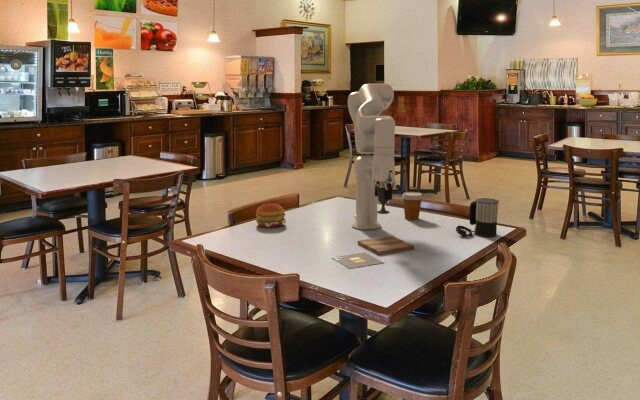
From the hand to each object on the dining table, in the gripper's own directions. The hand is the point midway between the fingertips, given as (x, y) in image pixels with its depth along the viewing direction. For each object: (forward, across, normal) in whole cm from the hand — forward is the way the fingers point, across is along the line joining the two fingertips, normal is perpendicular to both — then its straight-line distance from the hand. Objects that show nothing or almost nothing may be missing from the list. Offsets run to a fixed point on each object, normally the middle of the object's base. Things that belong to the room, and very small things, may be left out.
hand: (383, 197), depth 219 cm
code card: (+20, +10, -16) cm, 27 cm away
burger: (+21, -53, -27) cm, 63 cm away
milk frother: (+21, +1, +44) cm, 49 cm away
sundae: (+6, 0, 0) cm, 6 cm away
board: (+20, 0, +2) cm, 20 cm away
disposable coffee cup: (+21, -35, +36) cm, 54 cm away
